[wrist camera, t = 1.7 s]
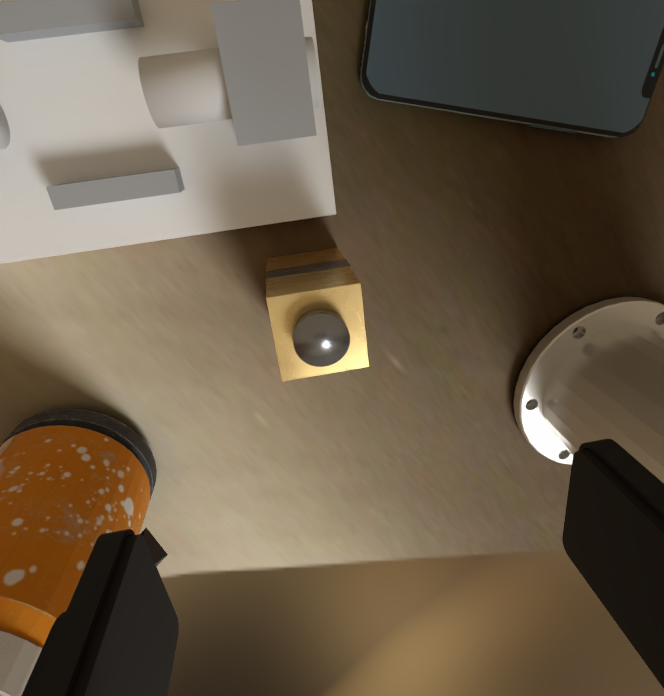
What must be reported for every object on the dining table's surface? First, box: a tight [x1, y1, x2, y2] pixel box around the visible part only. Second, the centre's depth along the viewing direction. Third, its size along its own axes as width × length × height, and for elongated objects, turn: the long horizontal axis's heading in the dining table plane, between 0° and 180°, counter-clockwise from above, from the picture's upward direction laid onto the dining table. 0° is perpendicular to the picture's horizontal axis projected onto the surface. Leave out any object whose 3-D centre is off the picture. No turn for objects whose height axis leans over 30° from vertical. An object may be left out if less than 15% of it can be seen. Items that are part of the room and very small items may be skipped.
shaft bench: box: [0, 0, 336, 264], centre depth 19 cm, size 20×12×6 cm, turn 97°
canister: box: [0, 409, 167, 696], centre depth 20 cm, size 9×11×20 cm
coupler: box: [265, 248, 369, 381], centre depth 23 cm, size 4×4×8 cm
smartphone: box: [359, 0, 664, 137], centre depth 22 cm, size 8×2×15 cm
